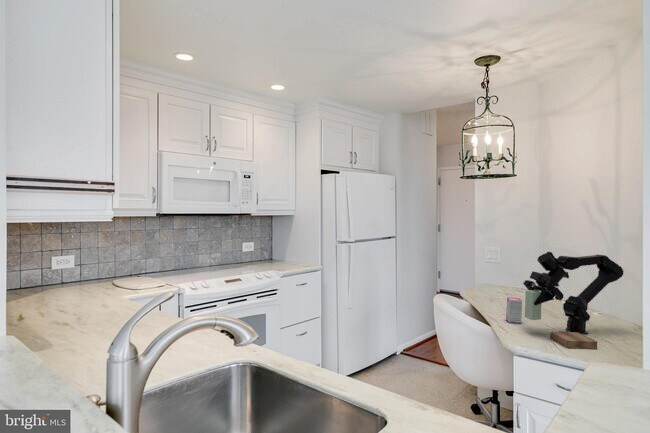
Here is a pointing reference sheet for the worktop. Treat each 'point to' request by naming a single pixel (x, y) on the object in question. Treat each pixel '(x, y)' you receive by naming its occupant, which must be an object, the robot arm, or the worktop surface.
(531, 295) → the sage block
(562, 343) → the walnut base
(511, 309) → the supplement box
